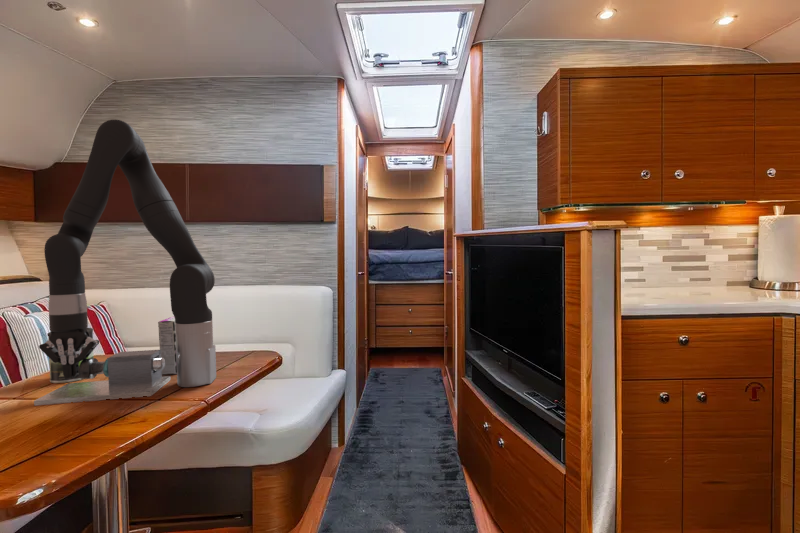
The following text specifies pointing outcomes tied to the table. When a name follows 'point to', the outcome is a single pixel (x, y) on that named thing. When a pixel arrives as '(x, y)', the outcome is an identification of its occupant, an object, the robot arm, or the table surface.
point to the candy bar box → (168, 345)
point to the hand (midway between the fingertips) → (71, 377)
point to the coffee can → (57, 368)
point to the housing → (114, 381)
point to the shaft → (93, 367)
